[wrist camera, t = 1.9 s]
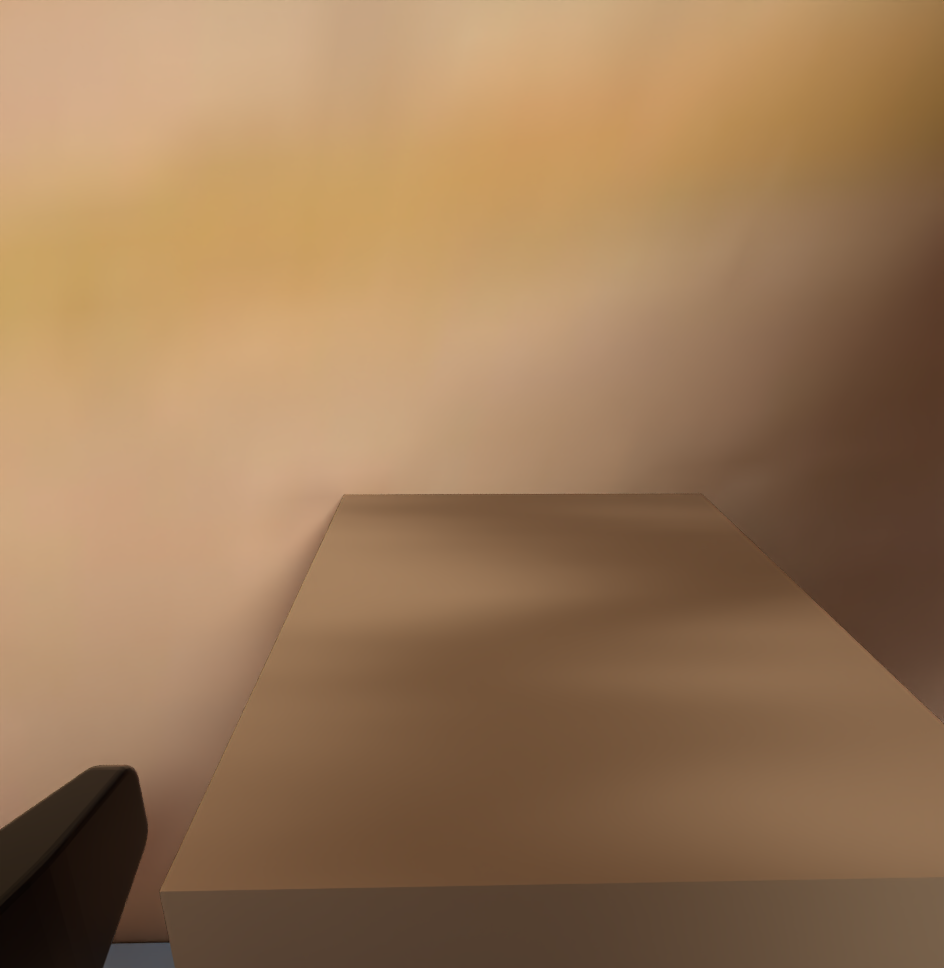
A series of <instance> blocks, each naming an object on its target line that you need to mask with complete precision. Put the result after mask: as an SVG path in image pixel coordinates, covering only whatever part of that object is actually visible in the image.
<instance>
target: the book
mask: <svg viewBox="0 0 944 968" xmlns="http://www.w3.org/2000/svg"><path fill="white" fill-rule="evenodd" d="M103 968H175V966H174V961H173V956H172V951H171V946H170V942H169V943H124V944H111V947H110V950H109V953H108V955H107V958H106V961H105V964H104V967H103Z"/></svg>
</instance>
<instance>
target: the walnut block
mask: <svg viewBox="0 0 944 968" xmlns="http://www.w3.org/2000/svg"><path fill="white" fill-rule="evenodd" d="M159 893H160V897H161V902H162V907H163V912H164V917H165V922H166V927H167V932H168V937H169V941H170V946H171V951H172V956H173V961H174V966H175V968H944V724H943V723H942V722H941V721H940V720H939V719H938V718H937V717H936V716H935V715H934V714H933V713H932V712H931V711H930V710H929V709H928V708H927V707H926V706H924V705H923V704H922V703H921V702H920V701H919V700H918V699H917V698H916V697H915V696H914V695H913V694H912V693H911V692H910V691H909V690H908V689H907V688H906V687H904V686H903V685H902V684H901V683H900V682H899V681H898V680H897V679H896V678H895V677H894V676H893V675H892V674H891V673H890V672H889V671H888V670H887V669H886V668H884V667H883V666H882V665H881V664H880V663H879V662H878V661H877V660H876V659H875V658H874V657H873V656H872V655H871V654H870V653H869V652H868V651H867V650H866V649H864V648H863V647H862V646H861V645H860V644H859V643H858V642H857V641H856V640H855V639H854V638H853V637H852V636H851V635H850V634H849V633H848V632H847V631H846V630H844V629H843V628H842V627H841V626H840V625H839V624H838V623H837V622H836V621H835V620H834V619H833V618H832V617H831V616H830V615H829V614H828V613H827V612H826V611H825V610H823V609H822V608H821V607H820V606H819V605H818V604H817V603H816V602H815V601H814V600H813V599H812V598H811V597H810V596H809V595H808V594H807V593H806V592H805V591H803V590H802V589H801V588H800V587H799V586H798V585H797V584H796V583H795V582H794V581H793V580H792V579H791V578H790V577H789V576H788V575H787V574H786V573H785V572H783V571H782V570H781V569H780V568H779V567H778V566H777V565H776V564H775V563H774V562H773V561H772V560H771V559H770V558H769V557H768V556H767V555H766V554H765V553H763V552H762V551H761V550H760V549H759V548H758V547H757V546H756V545H755V544H754V543H753V542H752V541H751V540H750V539H749V538H748V537H747V536H746V535H745V534H743V533H742V532H741V531H740V530H739V529H738V528H737V527H736V526H735V525H734V524H733V523H732V522H731V521H730V520H729V519H728V518H727V517H726V516H725V515H723V514H722V513H721V512H720V511H719V510H718V509H717V508H716V507H715V506H714V505H713V504H712V503H711V502H710V501H709V500H708V499H707V498H706V497H705V496H703V495H702V494H396V495H344V496H343V498H342V500H341V502H340V504H339V507H338V509H337V511H336V513H335V515H334V517H333V519H332V522H331V524H330V526H329V528H328V530H327V532H326V534H325V537H324V539H323V541H322V543H321V545H320V547H319V550H318V552H317V554H316V556H315V558H314V560H313V562H312V565H311V567H310V569H309V571H308V573H307V575H306V577H305V580H304V582H303V584H302V586H301V588H300V590H299V592H298V595H297V597H296V599H295V601H294V603H293V605H292V608H291V610H290V612H289V614H288V616H287V618H286V620H285V623H284V625H283V627H282V629H281V631H280V633H279V635H278V638H277V640H276V642H275V644H274V646H273V648H272V650H271V653H270V655H269V657H268V659H267V661H266V663H265V666H264V668H263V670H262V672H261V674H260V676H259V678H258V681H257V683H256V685H255V687H254V689H253V691H252V693H251V696H250V698H249V700H248V702H247V704H246V706H245V709H244V711H243V713H242V715H241V717H240V719H239V721H238V724H237V726H236V728H235V730H234V732H233V734H232V736H231V739H230V741H229V743H228V745H227V747H226V749H225V751H224V754H223V756H222V758H221V760H220V762H219V764H218V767H217V769H216V771H215V773H214V775H213V777H212V779H211V782H210V784H209V786H208V788H207V790H206V792H205V794H204V797H203V799H202V801H201V803H200V805H199V807H198V809H197V812H196V814H195V816H194V818H193V820H192V822H191V825H190V827H189V829H188V831H187V833H186V835H185V837H184V840H183V842H182V844H181V846H180V848H179V850H178V852H177V855H176V857H175V859H174V861H173V863H172V865H171V868H170V870H169V872H168V874H167V876H166V878H165V880H164V883H163V885H162V887H161V889H160V891H159Z"/></svg>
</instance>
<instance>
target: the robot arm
mask: <svg viewBox="0 0 944 968" xmlns="http://www.w3.org/2000/svg"><path fill="white" fill-rule="evenodd" d="M147 833H148V823H147V817H146V812H145V807H144V802H143V797H142V792H141V787H140V783H139V778H138V775H137V772H136V770H135V769H134V768H133V767H131V766H128V765H99V766H94V767H91V768H89V769H88V770H86V771H84V772H83V773H81V774H80V775H78V776H77V777H76V778H74V779H73V780H71V781H70V782H68V783H67V784H65V785H64V786H63V787H61V788H60V789H58V790H57V791H55V792H54V793H52V794H51V795H49V796H48V797H47V798H45V799H44V800H42V801H41V802H39V803H38V804H36V805H35V806H34V807H32V808H31V809H29V810H28V811H26V812H25V813H23V814H22V815H20V816H19V817H18V818H16V819H15V820H13V821H12V822H10V823H9V824H7V825H6V826H5V827H3V828H2V829H0V968H103V967H104V964H105V961H106V958H107V955H108V953H109V950H110V947H111V944H112V941H113V938H114V935H115V932H116V929H117V927H118V924H119V921H120V918H121V915H122V912H123V909H124V906H125V903H126V901H127V898H128V895H129V892H130V889H131V886H132V883H133V880H134V877H135V875H136V872H137V869H138V866H139V863H140V860H141V857H142V854H143V851H144V848H145V845H146V840H147Z"/></svg>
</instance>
